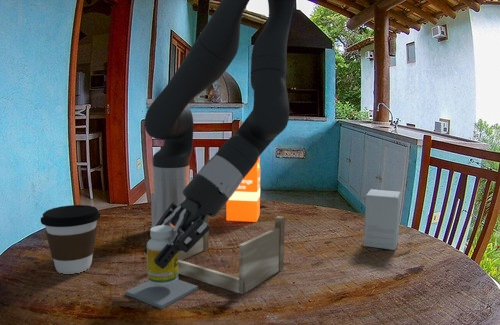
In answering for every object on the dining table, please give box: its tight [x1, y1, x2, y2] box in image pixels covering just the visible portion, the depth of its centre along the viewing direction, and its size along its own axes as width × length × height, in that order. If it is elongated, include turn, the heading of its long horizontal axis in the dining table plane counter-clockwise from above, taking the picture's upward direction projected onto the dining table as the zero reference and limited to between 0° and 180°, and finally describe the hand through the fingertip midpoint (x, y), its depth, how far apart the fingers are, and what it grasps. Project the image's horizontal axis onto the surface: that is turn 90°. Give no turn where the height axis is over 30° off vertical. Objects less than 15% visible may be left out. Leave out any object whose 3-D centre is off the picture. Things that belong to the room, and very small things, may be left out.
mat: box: [124, 279, 199, 310], centre depth 76 cm, size 9×9×1 cm
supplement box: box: [363, 188, 402, 251], centre depth 102 cm, size 7×7×13 cm
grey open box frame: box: [162, 215, 286, 295], centre depth 86 cm, size 21×14×11 cm, turn 56°
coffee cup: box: [40, 204, 101, 275], centre depth 85 cm, size 11×11×12 cm
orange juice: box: [225, 157, 261, 223], centre depth 123 cm, size 8×9×20 cm
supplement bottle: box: [146, 225, 179, 286], centre depth 75 cm, size 5×5×10 cm
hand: (152, 259), depth 74 cm, fingers closed on supplement bottle, 5 cm apart
